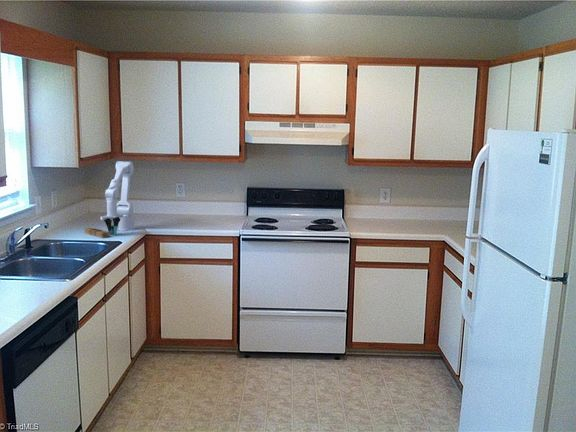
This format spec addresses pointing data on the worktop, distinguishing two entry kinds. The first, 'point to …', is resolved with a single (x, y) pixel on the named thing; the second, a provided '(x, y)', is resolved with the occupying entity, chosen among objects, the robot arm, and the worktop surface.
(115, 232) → the clip
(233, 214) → the worktop surface
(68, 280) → the worktop surface
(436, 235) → the worktop surface
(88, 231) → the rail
